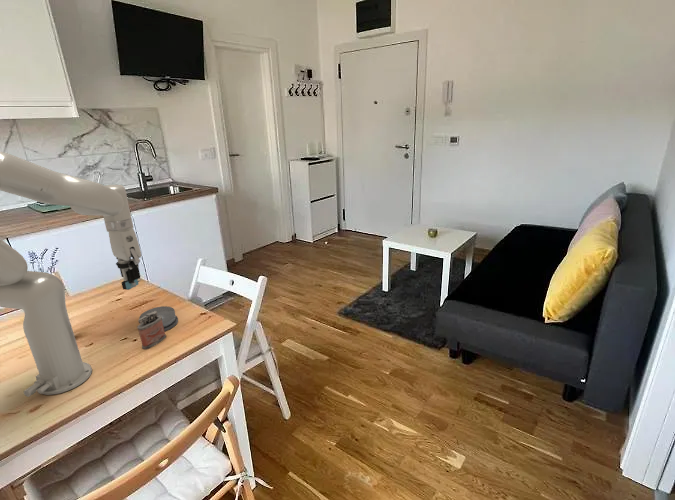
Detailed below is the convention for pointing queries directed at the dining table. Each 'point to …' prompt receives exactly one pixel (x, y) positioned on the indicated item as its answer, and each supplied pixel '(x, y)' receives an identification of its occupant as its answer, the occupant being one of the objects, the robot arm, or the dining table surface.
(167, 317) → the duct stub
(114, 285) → the dining table surface
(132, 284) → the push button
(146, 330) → the lighter
